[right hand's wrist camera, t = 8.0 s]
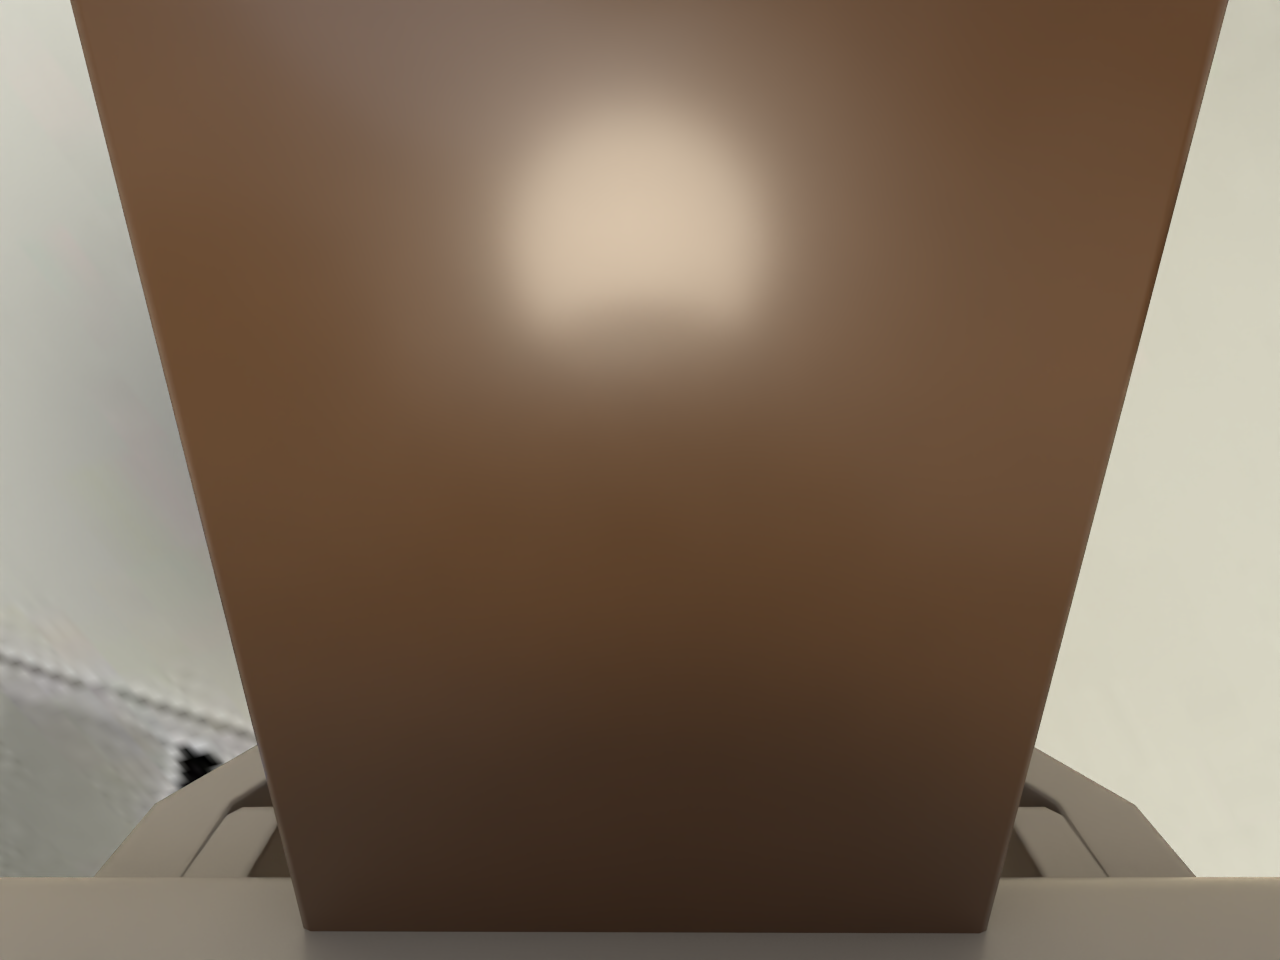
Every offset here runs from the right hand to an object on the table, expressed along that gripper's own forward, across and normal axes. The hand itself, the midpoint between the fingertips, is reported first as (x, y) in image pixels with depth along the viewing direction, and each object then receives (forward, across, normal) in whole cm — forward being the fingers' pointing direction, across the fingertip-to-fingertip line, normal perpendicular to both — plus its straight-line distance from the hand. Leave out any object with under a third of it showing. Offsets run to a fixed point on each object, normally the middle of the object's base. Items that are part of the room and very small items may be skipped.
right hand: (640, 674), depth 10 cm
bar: (+3, 0, -10) cm, 10 cm away
